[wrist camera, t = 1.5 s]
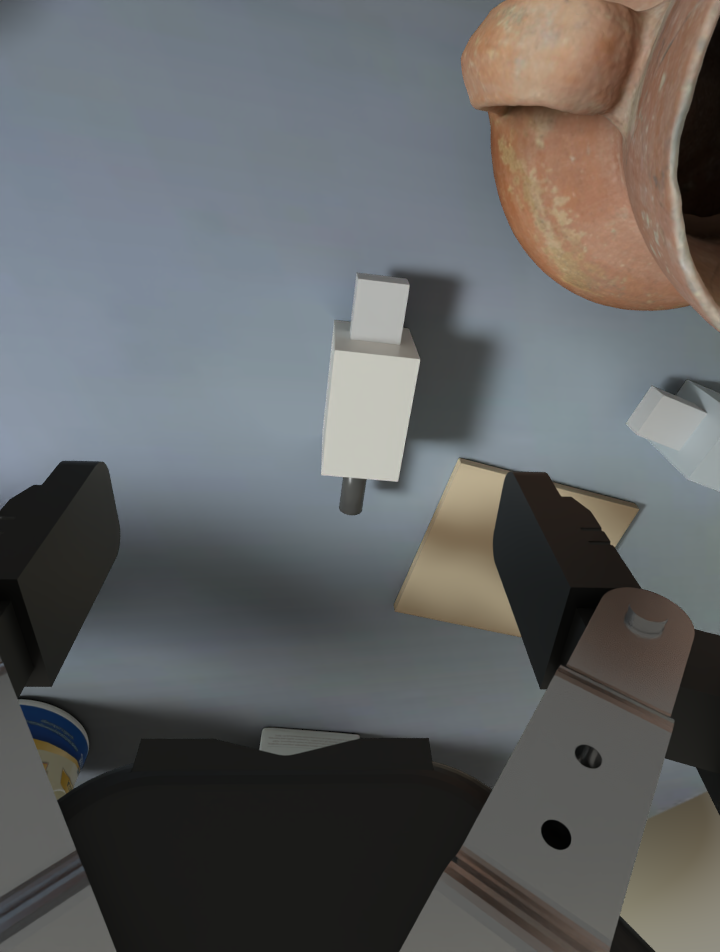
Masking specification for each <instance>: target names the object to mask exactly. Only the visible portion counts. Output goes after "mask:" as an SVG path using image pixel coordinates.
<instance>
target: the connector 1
mask: <svg viewBox="0 0 720 952" xmlns="http://www.w3.org/2000/svg"><path fill="white" fill-rule="evenodd" d="M409 287H410V284H409V282H408V280H407V279H405V278H397V277H389V276H381V275H372V274H364V273H357V275H356V283H355V292H354V300H353V309H352V317H351V322H348V321H339V320H334V328H333V338H332V347H331V357H330V366H329V376H328V386H327V395H326V405H325V414H324V424H323V435H322V467H321V475H327V476H338V477H343V482H342V489H341V497H340V505H339V509H340V511H341V512H342V513H344V514H347V515H357V514H360V513H361V511H362V506H363V500H364V493H365V486H366V480H367V479H372V480H384V481H395V482H398V479H399V473H400V468H401V462H402V457H403V451H404V446H405V440H406V435H407V430H408V424H409V419H410V413H411V408H412V402H413V397H414V391H415V386H416V380H417V375H418V370H419V364H420V357H419V354H418V352H417V349H416V346H415V344H414V341H413V338H412V336H411V333H410V330H409V328H403V324H404V318H405V312H406V305H407V299H408V293H409Z"/></svg>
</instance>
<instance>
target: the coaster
mask: <svg viewBox="0 0 720 952" xmlns="http://www.w3.org/2000/svg"><path fill="white" fill-rule="evenodd" d="M508 472H510V471H508V470H504V469H500V468H497V467H493V466H489V465H485V464H481V463H477V462H473V461H470V460H466V459H462V458H459V459H458V461H457V463H456V465H455V468H454V470H453V472H452V475H451V477H450V479H449V481H448V484H447V486H446V488H445V490H444V493H443V495H442V497H441V499H440V502H439V504H438V506H437V508H436V511H435V513H434V515H433V517H432V520H431V522H430V524H429V526H428V529H427V531H426V533H425V535H424V538H423V540H422V542H421V544H420V547H419V549H418V551H417V554H416V556H415V558H414V560H413V563H412V565H411V567H410V569H409V572H408V574H407V576H406V578H405V581H404V583H403V585H402V587H401V590H400V592H399V594H398V596H397V599H396V601H395V603H394V610H395V612H400V613H405V614H410V615H415V616H420V617H425V618H430V619H434V620H439V621H444V622H449V623H454V624H459V625H464V626H469V627H474V628H478V629H483V630H488V631H493V632H498V633H503V634H508V635H513V636H518V637H521V634H520V631H519V629H518V626H517V623H516V620H515V618H514V615H513V612H512V609H511V606H510V604H509V601H508V598H507V595H506V593H505V590H504V587H503V584H502V581H501V579H500V576H499V573H498V570H497V568H496V565H495V561H494V556H493V534H494V528H495V523H496V518H497V513H498V508H499V503H500V498H501V493H502V488H503V483H504V479H505V476H506V474H507V473H508ZM511 472H512V471H511ZM553 484H554V485H555V487H556V489H557V490H558V492H559V494H560V495H561V496H566V497H573V498H574V499H575V500H577V501H578V502H579V503H581V504H582V505H583V506H585V507H586V508H587V509H589V510H590V511H591V512H592V514H593V515H594V517H595V518H596V520H597V521H598V523H599V524H600V526H601V528H602V531H604V532H605V534H606V535H607V537H608V538H609V540H610V541H611V542H610V544H611V545H613V546H614V547H615V546H616V545H617V543H618V542H619V540H620V539H621V537H622V536H623V534H624V533H625V531H626V529H627V528H628V526H629V525H630V523H631V522H632V520H633V519H634V517H635V515H636V514H637V512H638V511H639V508H638V507H637V505H636V504H635V503H631V502H627V501H623V500H620V499H616V498H612V497H608V496H604V495H600V494H597V493H593V492H589V491H585V490H581V489H577V488H573V487H570V486H566V485H562V484H558V483H554V482H553Z"/></svg>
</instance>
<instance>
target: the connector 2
mask: <svg viewBox="0 0 720 952" xmlns="http://www.w3.org/2000/svg"><path fill="white" fill-rule="evenodd" d="M626 425H627V426H628V427H629V428H630V429H631V430H632V431H633V432H634V433H635V434H636V435H639V436H641V437H644V438H646V439H647V440H648V441H649V442H650V443H651V444H652V445H653V446H654V447H655V448H656V449H657V450H658V451H659V452H660V453H661V454H662V455H663V456H664V457H665V458H666V459H667V460H668V461H669V462H670V463H671V464H672V465H673V466H674V467H675V468H676V469H677V470H678V471H679V472H680V473H681V474H682V475H683V476H684V477H685V478H686V479H687V480H690V481H692V482H695V483H698V484H700V485H703V486H706V487H708V488H711V489H713V490H716V491H719V492H720V393H718V392H715V391H713V390H711V389H708V388H706V387H704V386H701V385H699V384H697V383H694V382H692V381H690V380H686V382H685V383H684V384H683V386H682V387H681V389H680V390H679V391H678V393H677V394H676V395H673V394H671V393H668V392H666V391H664V390H661V389H659V388H656V387H654V386H651V388H650V389H649V390H648V392H647V393H646V395H645V396H644V398H643V399H642V401H641V402H640V404H639V405H638V406H637V408H636V409H635V411H634V412H633V414H632V415H631V417H630V418H629V420H628V421H627V422H626Z"/></svg>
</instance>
